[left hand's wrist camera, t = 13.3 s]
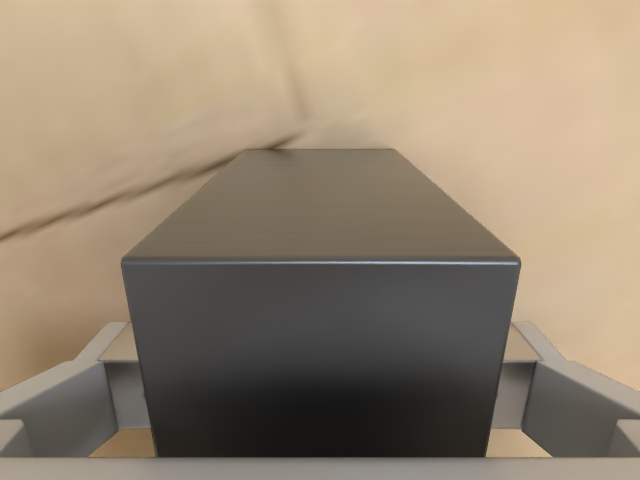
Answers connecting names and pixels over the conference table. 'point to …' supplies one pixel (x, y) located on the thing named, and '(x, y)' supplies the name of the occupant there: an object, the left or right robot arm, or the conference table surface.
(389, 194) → the bar
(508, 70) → the conference table surface
